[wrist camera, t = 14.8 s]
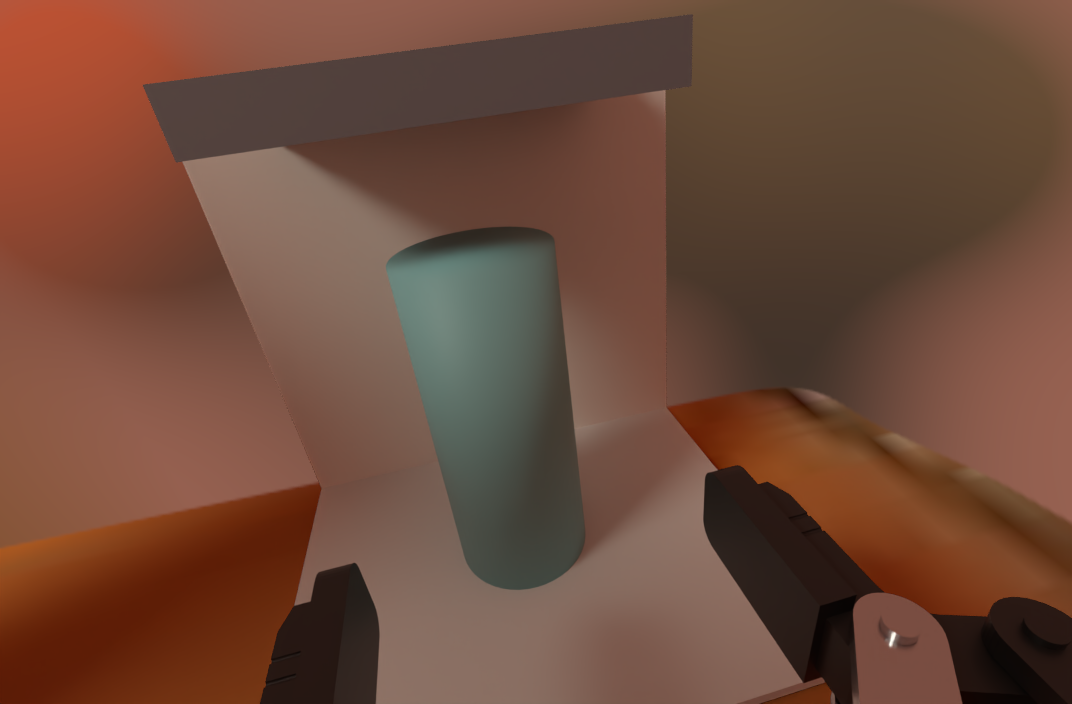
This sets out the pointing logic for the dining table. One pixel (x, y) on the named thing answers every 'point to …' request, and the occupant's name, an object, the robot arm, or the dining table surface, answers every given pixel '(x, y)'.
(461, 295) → the post
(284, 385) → the stand
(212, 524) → the dining table surface
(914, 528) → the dining table surface
